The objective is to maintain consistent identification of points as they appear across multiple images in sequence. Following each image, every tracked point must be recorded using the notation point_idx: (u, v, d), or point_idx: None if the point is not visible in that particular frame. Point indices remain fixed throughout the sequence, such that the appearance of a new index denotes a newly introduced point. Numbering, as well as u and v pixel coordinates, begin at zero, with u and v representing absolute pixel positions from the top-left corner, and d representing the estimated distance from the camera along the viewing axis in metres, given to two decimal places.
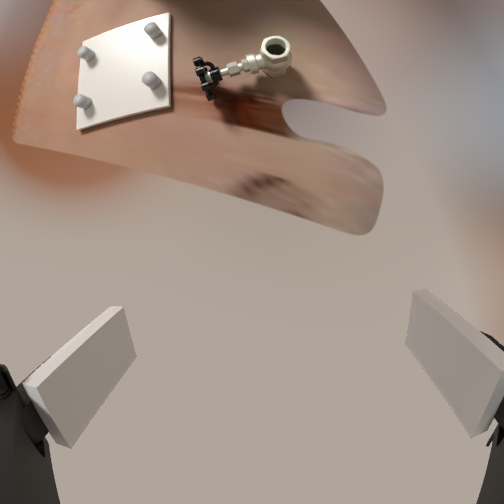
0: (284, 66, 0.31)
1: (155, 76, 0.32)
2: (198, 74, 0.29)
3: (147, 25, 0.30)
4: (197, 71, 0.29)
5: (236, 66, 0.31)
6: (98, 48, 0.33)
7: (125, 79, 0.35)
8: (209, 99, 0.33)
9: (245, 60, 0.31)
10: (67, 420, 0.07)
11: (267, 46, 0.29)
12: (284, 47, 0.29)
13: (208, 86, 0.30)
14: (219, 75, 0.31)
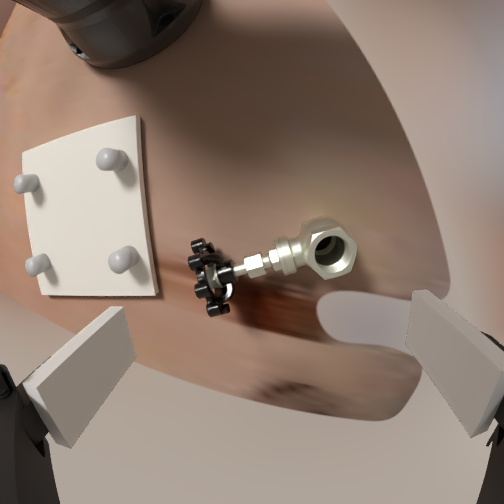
0: None
1: (127, 261, 0.24)
2: None
3: (100, 154, 0.21)
4: (199, 295, 0.21)
5: (261, 268, 0.22)
6: (42, 171, 0.25)
7: (86, 239, 0.26)
8: None
9: (276, 255, 0.22)
10: (67, 420, 0.07)
11: None
12: (343, 241, 0.20)
13: (219, 313, 0.22)
14: (234, 281, 0.23)
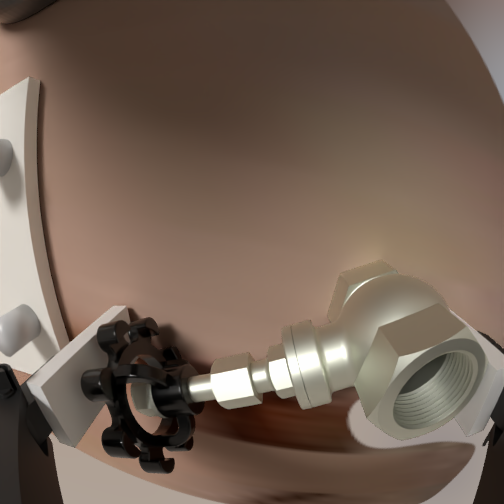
0: None
1: (13, 339, 0.10)
2: None
3: None
4: (112, 455, 0.07)
5: (250, 398, 0.09)
6: None
7: None
8: None
9: (285, 374, 0.08)
10: (71, 419, 0.07)
11: None
12: None
13: (165, 472, 0.08)
14: (191, 415, 0.09)
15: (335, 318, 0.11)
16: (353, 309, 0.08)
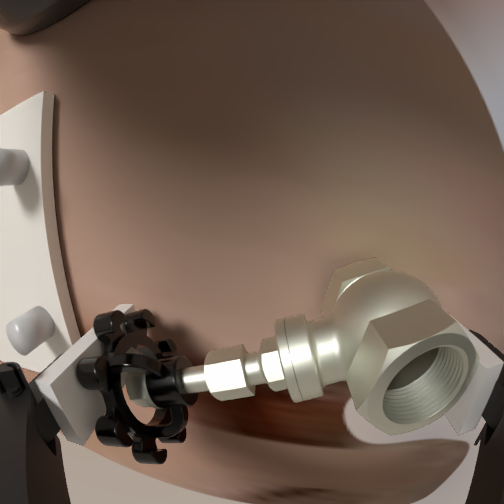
0: None
1: (29, 338, 0.11)
2: None
3: None
4: (105, 444, 0.07)
5: (243, 390, 0.09)
6: None
7: None
8: None
9: (278, 366, 0.09)
10: (79, 417, 0.07)
11: None
12: None
13: (157, 463, 0.08)
14: (185, 406, 0.09)
15: (329, 313, 0.11)
16: (345, 304, 0.09)
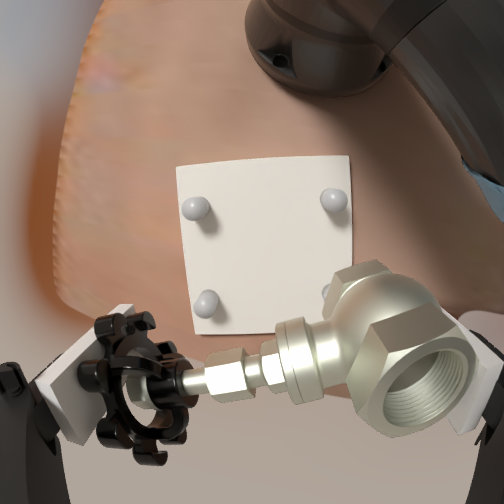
0: None
1: None
2: None
3: (331, 194, 0.23)
4: (106, 446, 0.07)
5: (243, 392, 0.09)
6: (217, 195, 0.26)
7: (281, 277, 0.28)
8: None
9: (278, 368, 0.09)
10: (79, 417, 0.07)
11: None
12: None
13: (158, 465, 0.08)
14: (185, 408, 0.09)
15: (329, 316, 0.11)
16: (346, 306, 0.09)
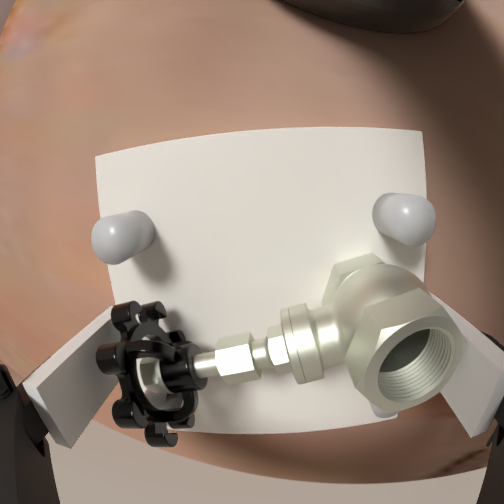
0: None
1: None
2: None
3: (405, 208, 0.10)
4: (121, 426, 0.08)
5: (250, 373, 0.10)
6: (166, 208, 0.13)
7: None
8: None
9: (283, 350, 0.10)
10: (67, 420, 0.07)
11: None
12: None
13: (168, 446, 0.09)
14: (196, 390, 0.10)
15: (328, 304, 0.12)
16: (344, 293, 0.10)
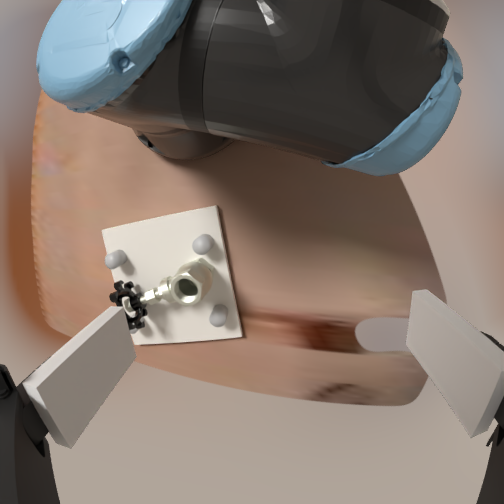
0: (203, 296, 0.32)
1: (225, 317, 0.34)
2: None
3: (196, 242, 0.32)
4: None
5: (154, 298, 0.32)
6: (129, 248, 0.36)
7: None
8: (139, 328, 0.34)
9: None
10: (67, 420, 0.07)
11: None
12: None
13: (132, 328, 0.32)
14: (140, 307, 0.33)
15: None
16: None
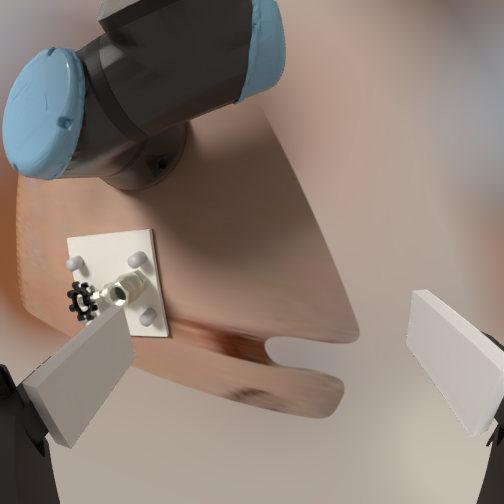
0: None
1: (151, 320, 0.41)
2: (72, 311, 0.37)
3: (130, 258, 0.39)
4: (70, 310, 0.37)
5: (99, 298, 0.39)
6: (86, 255, 0.42)
7: None
8: (89, 320, 0.40)
9: None
10: (67, 420, 0.07)
11: (115, 286, 0.37)
12: None
13: (82, 320, 0.38)
14: (90, 304, 0.39)
15: None
16: None
